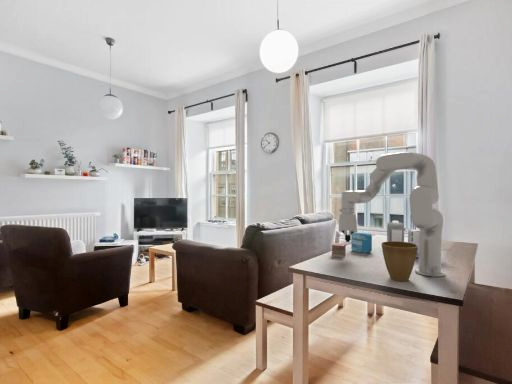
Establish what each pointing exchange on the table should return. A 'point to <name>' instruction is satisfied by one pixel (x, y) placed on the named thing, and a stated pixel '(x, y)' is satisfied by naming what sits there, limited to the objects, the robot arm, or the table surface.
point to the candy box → (414, 239)
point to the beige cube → (338, 249)
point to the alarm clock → (395, 231)
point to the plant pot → (399, 259)
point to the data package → (361, 242)
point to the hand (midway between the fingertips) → (347, 241)
